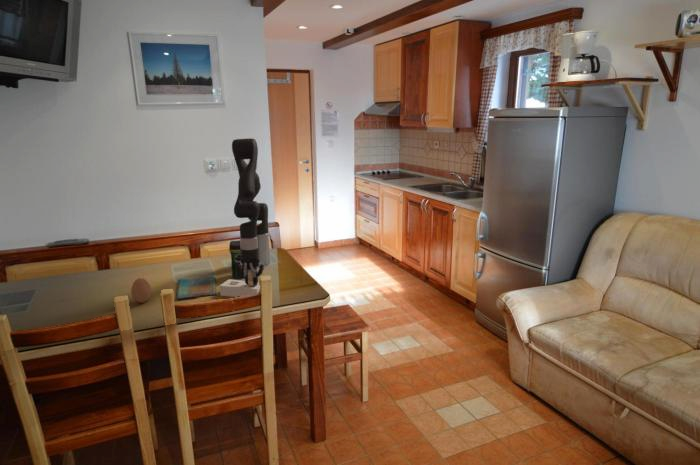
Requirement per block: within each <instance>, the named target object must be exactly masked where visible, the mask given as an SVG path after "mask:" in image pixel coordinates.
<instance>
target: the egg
mask: <svg viewBox="0 0 700 465" xmlns="http://www.w3.org/2000/svg"><path fill="white" fill-rule="evenodd" d="M131 296H132V298H133V299H134V301H136V302H138V303H140V304H141V303H146V302H147V301H149V300H150V298H151V296H152V288H151V285H150V284H149V282H148V281H147V280H146V279H144V277H143V278H141V277H138V278H137V279H135V280H134V281H133V283H132V286H131Z"/></svg>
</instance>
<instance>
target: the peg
mask: <svg viewBox="0 0 700 465" xmlns="http://www.w3.org/2000/svg"><path fill="white" fill-rule="evenodd" d="M247 274H248V287H255V285H254V284H253V273H252V271H251V269H247Z"/></svg>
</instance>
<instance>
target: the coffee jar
mask: <svg viewBox="0 0 700 465" xmlns="http://www.w3.org/2000/svg"><path fill="white" fill-rule="evenodd" d="M228 250H229V253H230V258H231V264H230V265H231V268H230V269H231V270H230V271H231V272H230V274H231V275H230V276H231V278H233V279H245V276H244V275H241V274H240V272H239V270H238V268H237V266H236V262H238V261H241V259H242V258H241V248H240V239H239V240H231V241H230V242H229V248H228ZM242 266H243V264H242ZM243 268H244V266H243Z"/></svg>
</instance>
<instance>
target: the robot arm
mask: <svg viewBox="0 0 700 465" xmlns="http://www.w3.org/2000/svg"><path fill="white" fill-rule="evenodd" d="M231 150H232V155H233V158H234V161H235V164H236V167H237V172H238V177H239V178H238V179H239V180H238V188H237V189H238V194H237V198H236V201H235V203H234V206H233V214H234V216H235V217H236V218H238V219H248V220H249V221H247V222H246V221H245V222H243V223H241V224H240V225H239V235H240V236H239V238H240V239H239V240H240V248H241V258H242V259H241V261H238V262H236V266H237V268H238V270H239V272H240V274H241V275H244V276H245V278H244V280H245V283H246V284H248V274H247V269H251V271H252V273H253V284H254V285H256V284H257V283H258V282H259V277H260V276H261V275H262V274H263V271H264V270H265V268H266V267H265V266H267V265H270V263H271V254H270V253H271V252H270V237H269V236H270V235H269V234H270V233H269V208H268V207H269V206H268V205H267V204H268V203H265V202H257V201H255V200H254V199H255V198H256V197H257V196H258V194H259V192H260V190H261V188H262V187H261V181H260V180H261V179H260V177H259V174H258V173H257V167H258V166H257V165H258V155H259V152H258V151H259V148H258V143H257V140H256V139H255V138H251V137H249V138H237V139H233V140H232V142H231ZM245 160H249V161H248V163H247V162H246V161H245ZM258 221H261V222H260V223H259V224H258ZM242 264H243V266H244V268H243V266H242Z"/></svg>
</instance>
